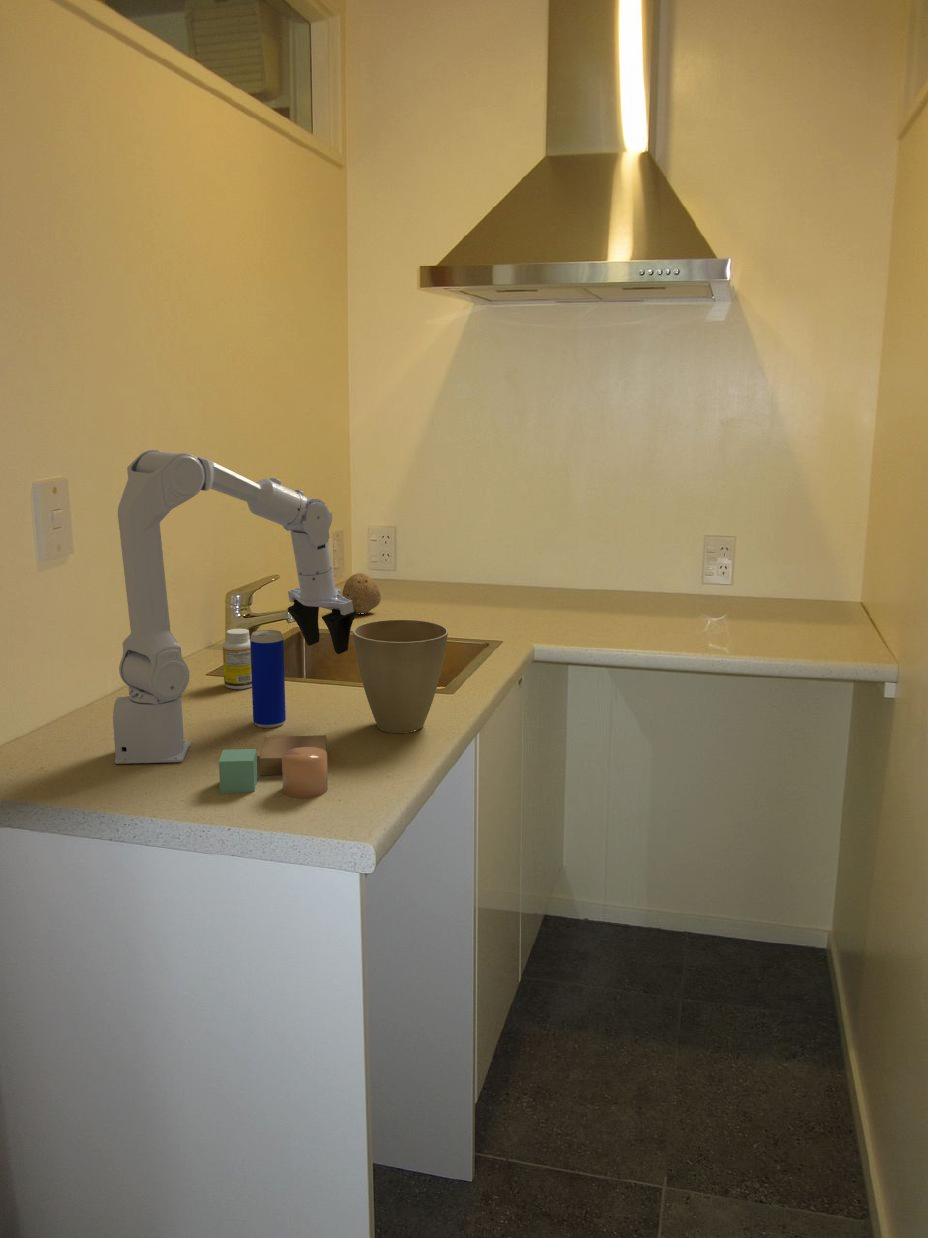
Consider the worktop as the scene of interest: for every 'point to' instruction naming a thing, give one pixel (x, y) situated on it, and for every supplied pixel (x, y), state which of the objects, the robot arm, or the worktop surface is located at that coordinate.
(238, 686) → the supplement bottle
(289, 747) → the base
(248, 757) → the cube
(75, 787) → the worktop surface
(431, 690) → the plant pot
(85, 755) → the worktop surface
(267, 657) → the beverage can
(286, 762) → the rounded knob
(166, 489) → the robot arm
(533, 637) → the worktop surface
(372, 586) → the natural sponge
